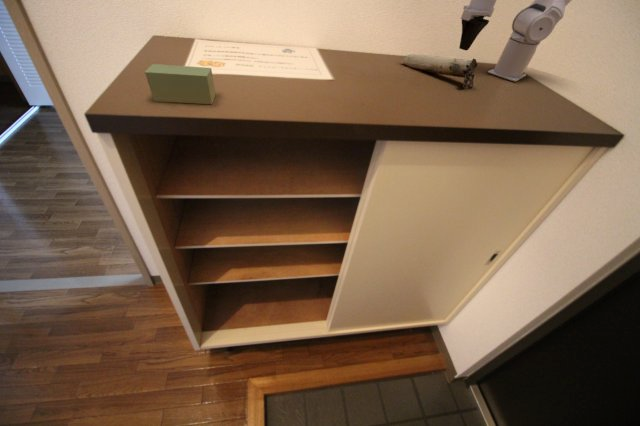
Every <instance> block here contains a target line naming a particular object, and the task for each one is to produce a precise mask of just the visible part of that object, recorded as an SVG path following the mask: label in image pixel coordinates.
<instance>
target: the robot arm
mask: <svg viewBox="0 0 640 426" xmlns="http://www.w3.org/2000/svg"><path fill="white" fill-rule="evenodd" d="M496 2H497V0H470V2H469V4H468V5H463V8H462V9H463V11H462V14H461V17H460V20H461V37H460V42H459V49H460V50H463V51H469V49H470V48H471V47H472V45H473V44H474V42H475V40H476V39H477V37H478V36H479V35H480V34H481V31H483V30H484V29H485V27H487V26H488V25H489V23H490V20H489V19H486V18H487V17H488V18H491V17H492V15H493V14H494V11H495V5H496ZM571 2H572V0H534V1H533V2H532V3H530V4H529V5H528V6H526V7H525V8H523V9H521V10H520V11H519V12H517V14H516V15H515V16H514V18H513V20H512V23H511V30H512V32H511V34H510V36H509V37H508V40H507V42H506V44H505V46H504V48H503V50H502V52H501V54H500V56H499V58H498V60H497V62H496V63H495V66H494V68H491V69H490V70H488V71H487V73H488V74H490V75H493V76H497V77H499V78H502V79H505V80H508V81H511V82H514V83H517V82H518V81H519V80H521V79H523V78H525V77H526V76H527V73H525V71H526V69H527V68H528V66H529V64H530V62H531V60H532V59H533V57H534V56H535V54H536V51H537V48H538V46H539V45H540V44H541V42H542V41H544V40H546V39H547V38H548V37H549V36H550V35H551V34H552V32H553V31H554V29H555V27H556V25H557V24H558V23H559V22H560V21H561V20H562V19H563V18H564V15H565V10H566V7H567V6H568V5H569V4H570V3H571Z"/></svg>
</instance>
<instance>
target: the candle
mask: <svg viewBox="0 0 640 426" xmlns="http://www.w3.org/2000/svg"><path fill="white" fill-rule="evenodd" d="M400 62H401V63H402V64H404V65H405V66H407V67H408V68H413V69H419V70H424V72H427V73H430V74H431V73H432V74H437V75H442V76H443V75H446V76H449V77H458V78H463V86H462V88H463V89H467V90H468V89H472V88H473V87H474V79H475V73H474V72H475V70H476V69H477V67H478V63H477V59H476V58H472V59H471V60H470V59H462V58H461V59H460V58H455V57H454V58H453V57H444V56H443V57H442V56H435V55H426V54H415V53H410V54H407V55H404V58H403V59H401V60H400Z"/></svg>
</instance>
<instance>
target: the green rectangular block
mask: <svg viewBox="0 0 640 426" xmlns="http://www.w3.org/2000/svg"><path fill="white" fill-rule="evenodd" d="M144 74H145V78H146V80H147V81H146V82H147V84H148V87H149V90H150V93H151V97H152V99H153V102H161V103H162V102H164V103H179V104H180V103H181V104H201V105H202V104H203V105H212V104H213V103H214V100H215V98H216V89H215V83H214V76H213V71H212V68H211V67H200V66H189V65H173V64H161V63H160V64H159V63H152V64H151V65H150V66H149V67H148V68H147V69H146V70H145V71H144Z"/></svg>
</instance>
